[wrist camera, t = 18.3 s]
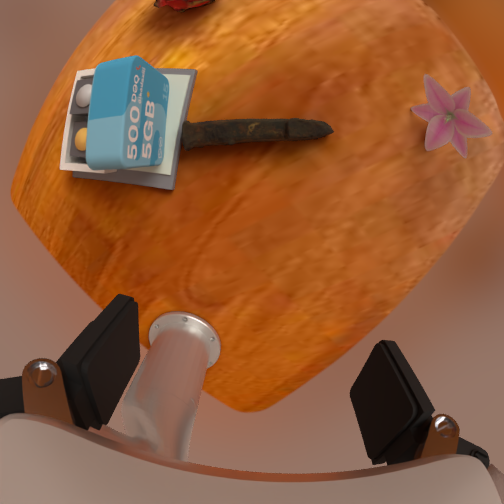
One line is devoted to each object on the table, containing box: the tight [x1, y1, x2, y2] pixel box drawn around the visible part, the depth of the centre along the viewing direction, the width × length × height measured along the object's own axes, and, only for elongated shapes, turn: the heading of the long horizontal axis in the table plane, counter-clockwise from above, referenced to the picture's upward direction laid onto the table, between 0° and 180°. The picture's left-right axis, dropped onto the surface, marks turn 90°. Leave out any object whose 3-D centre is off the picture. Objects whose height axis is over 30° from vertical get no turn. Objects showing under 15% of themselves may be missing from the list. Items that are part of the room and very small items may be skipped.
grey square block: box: [70, 78, 93, 116], centre depth 27 cm, size 5×5×3 cm
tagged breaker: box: [70, 122, 88, 157], centre depth 30 cm, size 5×5×3 cm
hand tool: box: [181, 118, 334, 151], centre depth 31 cm, size 19×4×5 cm, turn 90°
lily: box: [411, 74, 492, 158], centre depth 27 cm, size 12×12×10 cm
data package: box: [86, 56, 169, 170], centre depth 26 cm, size 12×4×12 cm, turn 176°
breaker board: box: [60, 68, 197, 190], centre depth 30 cm, size 17×18×4 cm
